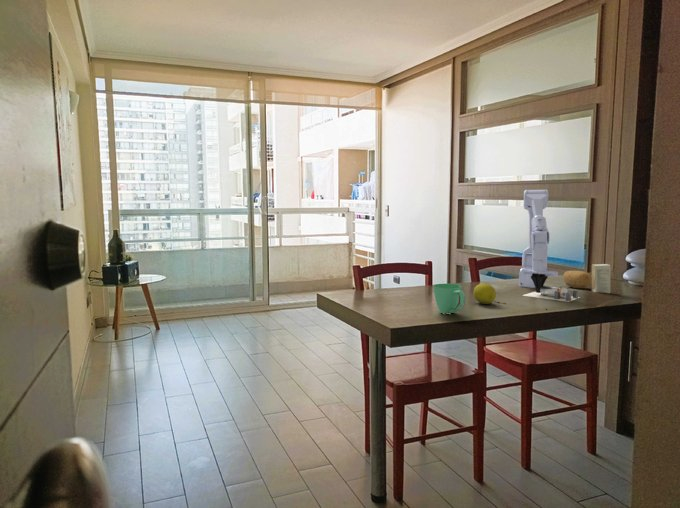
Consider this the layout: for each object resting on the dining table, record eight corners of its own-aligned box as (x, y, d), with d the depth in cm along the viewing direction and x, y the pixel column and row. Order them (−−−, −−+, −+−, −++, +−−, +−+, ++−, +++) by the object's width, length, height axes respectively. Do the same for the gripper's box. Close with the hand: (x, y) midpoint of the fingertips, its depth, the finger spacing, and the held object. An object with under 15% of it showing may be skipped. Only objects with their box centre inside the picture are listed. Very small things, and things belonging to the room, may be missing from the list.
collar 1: (554, 299, 198) (554, 291, 197) (563, 296, 203) (563, 288, 203) (557, 299, 197) (557, 291, 196) (566, 296, 202) (566, 289, 202)
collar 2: (565, 300, 194) (565, 292, 194) (574, 297, 200) (574, 290, 200) (569, 301, 193) (569, 293, 193) (578, 297, 199) (578, 290, 199)
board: (521, 297, 206) (521, 295, 206) (534, 293, 214) (534, 291, 214) (568, 303, 192) (568, 301, 192) (580, 299, 200) (580, 297, 200)
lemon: (499, 306, 191) (500, 285, 190) (480, 306, 190) (480, 286, 189) (488, 300, 202) (488, 280, 201) (469, 301, 201) (469, 281, 200)
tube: (540, 296, 204) (540, 285, 204) (544, 294, 207) (544, 284, 206) (564, 299, 197) (565, 288, 196) (569, 297, 199) (569, 287, 199)
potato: (574, 285, 232) (574, 268, 231) (597, 290, 218) (597, 272, 217) (556, 286, 229) (556, 269, 228) (578, 291, 216) (578, 273, 215)
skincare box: (606, 292, 213) (607, 263, 212) (610, 294, 209) (611, 265, 208) (590, 292, 214) (591, 263, 213) (594, 294, 210) (595, 265, 208)
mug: (427, 311, 184) (427, 284, 183) (450, 309, 188) (450, 282, 187) (451, 320, 170) (451, 291, 169) (475, 317, 174) (475, 288, 173)
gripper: (518, 259, 207) (517, 291, 209) (552, 262, 197) (551, 296, 198) (526, 257, 212) (525, 289, 214) (560, 260, 202) (559, 293, 203)
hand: (538, 292), depth 206 cm, fingers closed
